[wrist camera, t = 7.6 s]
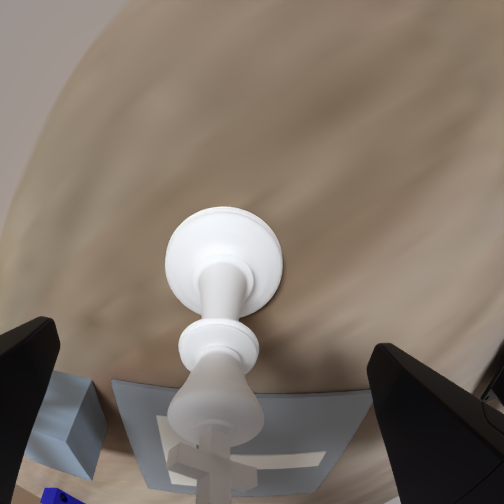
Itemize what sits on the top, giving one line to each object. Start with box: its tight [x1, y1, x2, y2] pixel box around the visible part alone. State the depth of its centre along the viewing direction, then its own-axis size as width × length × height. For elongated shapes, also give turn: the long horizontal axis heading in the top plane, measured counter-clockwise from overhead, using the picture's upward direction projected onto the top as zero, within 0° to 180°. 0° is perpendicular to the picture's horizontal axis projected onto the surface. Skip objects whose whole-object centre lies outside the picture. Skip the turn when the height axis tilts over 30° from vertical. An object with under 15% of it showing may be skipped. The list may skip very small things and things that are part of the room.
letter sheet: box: [111, 379, 373, 497], centre depth 19 cm, size 16×16×1 cm
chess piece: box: [165, 207, 283, 504], centre depth 8 cm, size 5×5×10 cm
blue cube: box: [25, 370, 108, 481], centre depth 14 cm, size 5×5×5 cm
